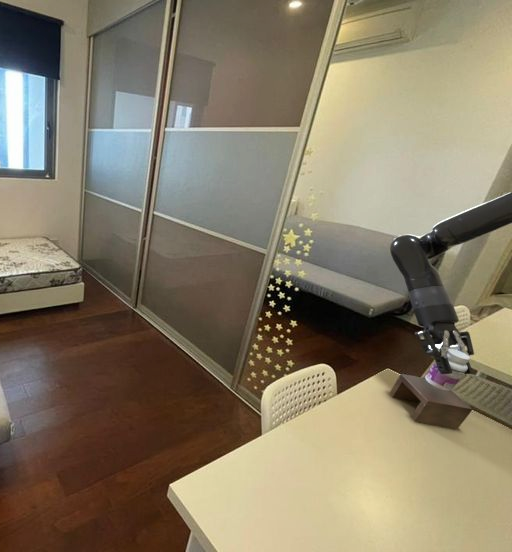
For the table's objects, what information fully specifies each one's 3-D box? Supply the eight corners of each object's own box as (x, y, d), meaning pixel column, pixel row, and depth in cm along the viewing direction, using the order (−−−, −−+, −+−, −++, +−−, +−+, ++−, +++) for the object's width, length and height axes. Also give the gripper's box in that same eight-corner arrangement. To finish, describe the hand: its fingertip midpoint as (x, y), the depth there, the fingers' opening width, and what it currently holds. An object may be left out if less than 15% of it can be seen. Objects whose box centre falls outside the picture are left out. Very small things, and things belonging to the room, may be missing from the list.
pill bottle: (424, 373, 85) (444, 344, 81) (452, 385, 81) (473, 354, 77) (423, 382, 81) (444, 352, 77) (451, 395, 78) (474, 363, 74)
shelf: (427, 400, 89) (440, 380, 86) (457, 429, 80) (473, 409, 77) (388, 393, 90) (400, 373, 87) (414, 421, 81) (428, 401, 78)
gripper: (424, 301, 79) (450, 373, 73) (471, 303, 81) (500, 373, 75) (394, 308, 85) (415, 374, 80) (438, 310, 88) (462, 374, 82)
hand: (456, 373), depth 77 cm, fingers closed on pill bottle, 5 cm apart
